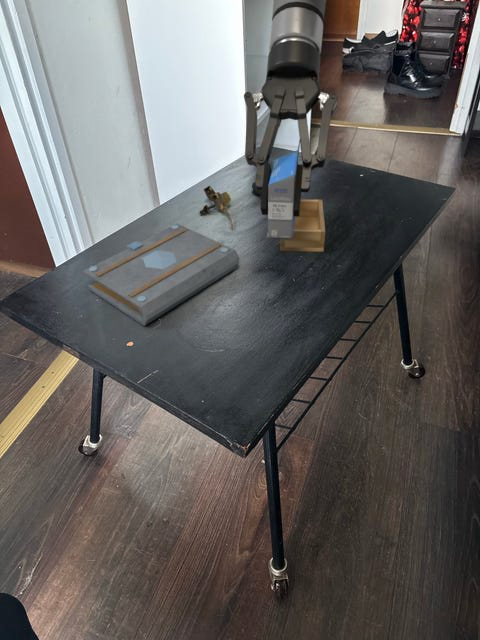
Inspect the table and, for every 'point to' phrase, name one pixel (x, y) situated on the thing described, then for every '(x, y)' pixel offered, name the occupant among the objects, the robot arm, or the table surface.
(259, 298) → the table surface
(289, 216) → the blue cardboard box
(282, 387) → the table surface
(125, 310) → the book
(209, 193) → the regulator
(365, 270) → the table surface
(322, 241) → the tray
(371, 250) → the table surface
